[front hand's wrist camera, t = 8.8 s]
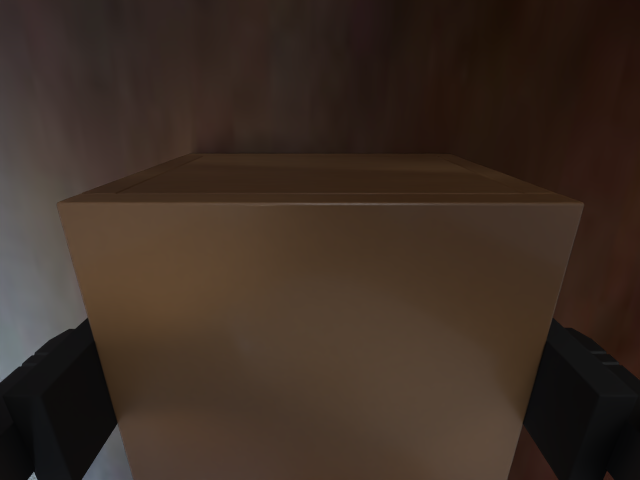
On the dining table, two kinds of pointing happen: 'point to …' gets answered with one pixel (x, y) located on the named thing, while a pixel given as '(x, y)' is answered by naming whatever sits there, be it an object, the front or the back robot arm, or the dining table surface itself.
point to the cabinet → (320, 313)
